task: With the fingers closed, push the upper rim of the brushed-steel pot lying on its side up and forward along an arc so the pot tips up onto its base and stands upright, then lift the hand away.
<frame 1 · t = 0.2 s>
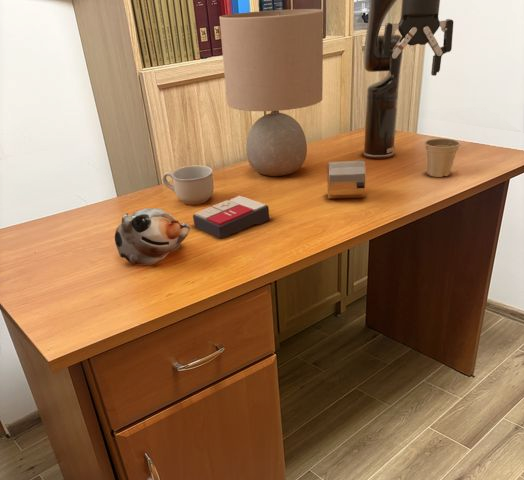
hand: (413, 76, 118), 29 cm above the table, tool pointing down, fingers open, 8 cm apart
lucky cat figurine: (156, 256, 117), on the table
flower pot: (438, 174, 153), on the table
teacup: (190, 201, 146), on the table
lamp: (277, 172, 163), on the table
flat box: (232, 224, 130), on the table
pot: (363, 179, 138), point 4 cm above the table
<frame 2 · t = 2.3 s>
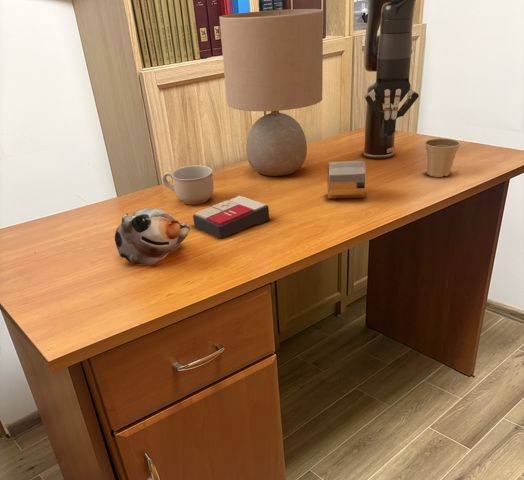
hand: (388, 135, 132), 15 cm above the table, tool pointing down, fingers closed
nothing on the table moved.
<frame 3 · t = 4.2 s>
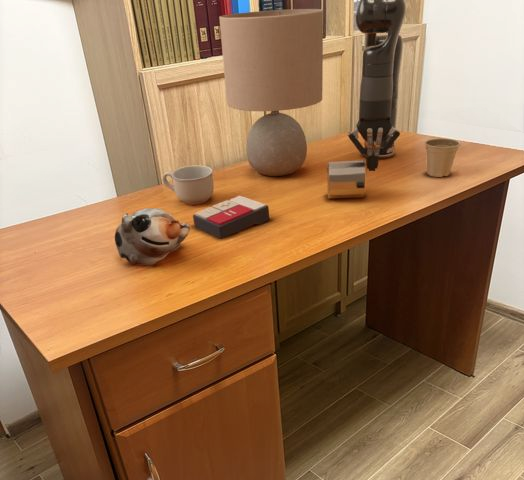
hand: (371, 170, 137), 7 cm above the table, tool pointing down, fingers closed
pot: (363, 179, 138), point 5 cm above the table, touching gripper
everything else where it was.
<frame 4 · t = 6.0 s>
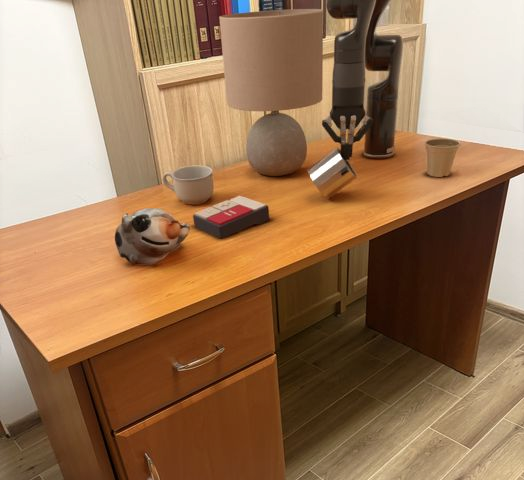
hand: (346, 158, 136), 10 cm above the table, tool pointing down, fingers closed
pot: (347, 162, 136), point 9 cm above the table, tilted 36°
everything else where it was.
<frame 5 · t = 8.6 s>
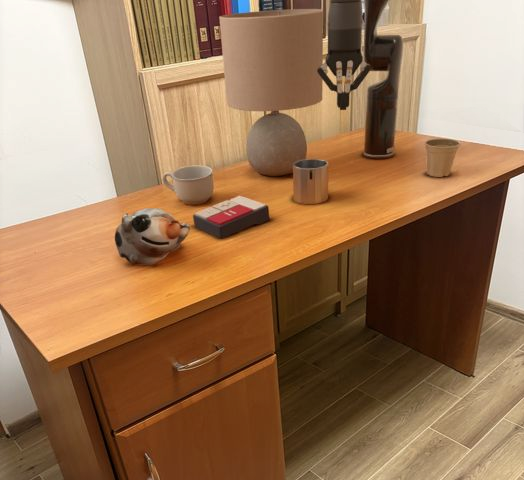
hand: (342, 109, 130), 21 cm above the table, tool pointing down, fingers closed
pot: (310, 163, 137), point 9 cm above the table, tilted 90°
everything else where it was.
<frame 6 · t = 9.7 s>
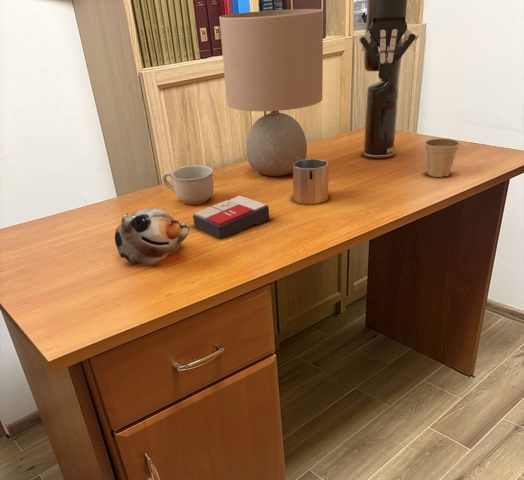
hand: (384, 80, 127), 27 cm above the table, tool pointing down, fingers closed
nothing on the table moved.
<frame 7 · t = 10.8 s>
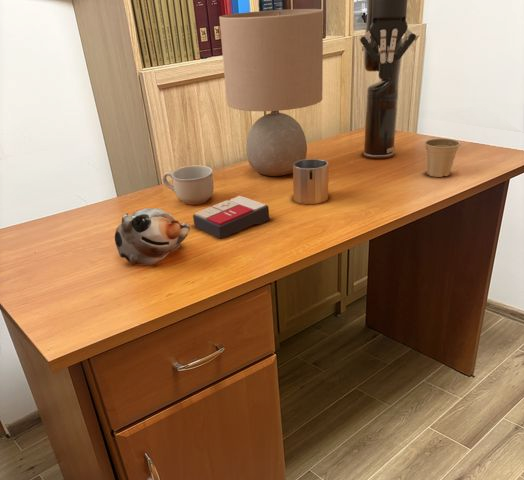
hand: (384, 80, 127), 27 cm above the table, tool pointing down, fingers closed
nothing on the table moved.
at the end: pot inside the target area (0.1 cm from its centre), point 9.0 cm above the table; pot tilted 90° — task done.
